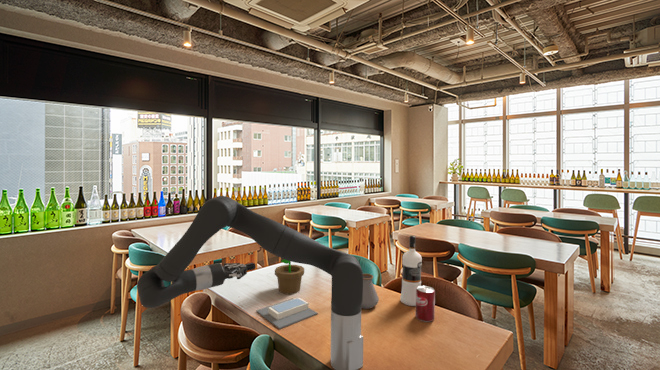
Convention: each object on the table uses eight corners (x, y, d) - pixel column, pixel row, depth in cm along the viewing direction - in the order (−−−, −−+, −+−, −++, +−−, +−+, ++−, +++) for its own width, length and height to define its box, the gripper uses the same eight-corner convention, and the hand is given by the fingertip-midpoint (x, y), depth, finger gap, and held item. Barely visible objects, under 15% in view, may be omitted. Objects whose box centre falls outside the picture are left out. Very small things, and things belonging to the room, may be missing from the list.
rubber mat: (317, 314, 127) (317, 312, 127) (279, 329, 115) (279, 327, 115) (292, 299, 140) (292, 298, 140) (256, 311, 129) (256, 310, 129)
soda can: (421, 323, 120) (422, 293, 119) (411, 314, 127) (412, 286, 126) (438, 321, 122) (439, 291, 121) (427, 312, 129) (428, 284, 128)
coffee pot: (382, 303, 138) (383, 270, 137) (372, 313, 128) (372, 278, 127) (341, 292, 149) (341, 261, 148) (328, 301, 139) (328, 268, 138)
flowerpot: (269, 293, 147) (269, 230, 145) (282, 282, 160) (282, 225, 158) (297, 297, 142) (297, 233, 140) (308, 286, 156) (309, 227, 154)
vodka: (410, 296, 145) (411, 232, 143) (426, 303, 138) (428, 236, 136) (395, 300, 140) (397, 235, 138) (411, 308, 133) (413, 239, 130)
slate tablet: (277, 319, 121) (308, 308, 131) (277, 313, 121) (308, 302, 131) (268, 313, 126) (298, 302, 136) (268, 307, 126) (298, 297, 136)
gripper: (214, 270, 99) (262, 259, 110) (200, 261, 109) (246, 251, 120) (214, 293, 100) (263, 280, 111) (200, 282, 110) (246, 270, 121)
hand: (254, 265), depth 116 cm, fingers closed
